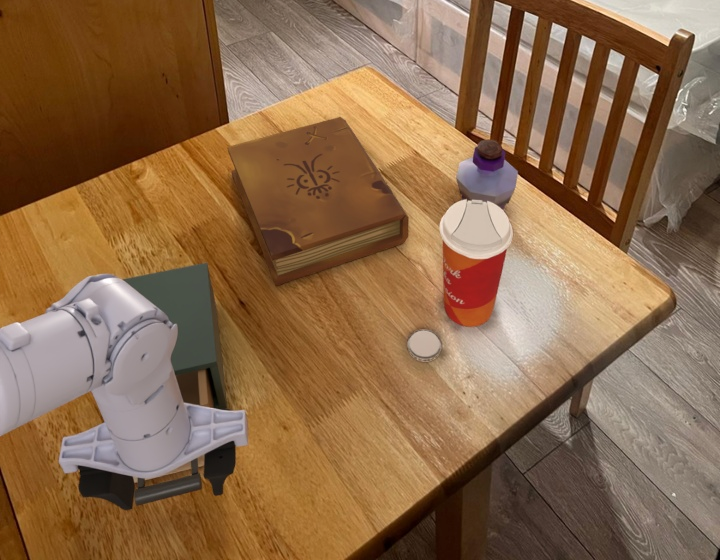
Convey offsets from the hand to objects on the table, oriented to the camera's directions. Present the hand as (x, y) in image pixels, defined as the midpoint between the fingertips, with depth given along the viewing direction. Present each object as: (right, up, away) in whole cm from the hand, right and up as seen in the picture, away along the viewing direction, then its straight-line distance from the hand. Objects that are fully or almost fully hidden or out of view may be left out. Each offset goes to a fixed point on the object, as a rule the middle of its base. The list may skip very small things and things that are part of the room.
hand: (174, 490), depth 64 cm
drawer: (-4, -1, +13) cm, 14 cm away
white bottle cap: (+24, +4, +22) cm, 33 cm away
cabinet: (-6, +3, +21) cm, 22 cm away
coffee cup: (+30, +7, +27) cm, 40 cm away
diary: (+10, +17, +41) cm, 46 cm away
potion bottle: (+34, +17, +40) cm, 55 cm away
